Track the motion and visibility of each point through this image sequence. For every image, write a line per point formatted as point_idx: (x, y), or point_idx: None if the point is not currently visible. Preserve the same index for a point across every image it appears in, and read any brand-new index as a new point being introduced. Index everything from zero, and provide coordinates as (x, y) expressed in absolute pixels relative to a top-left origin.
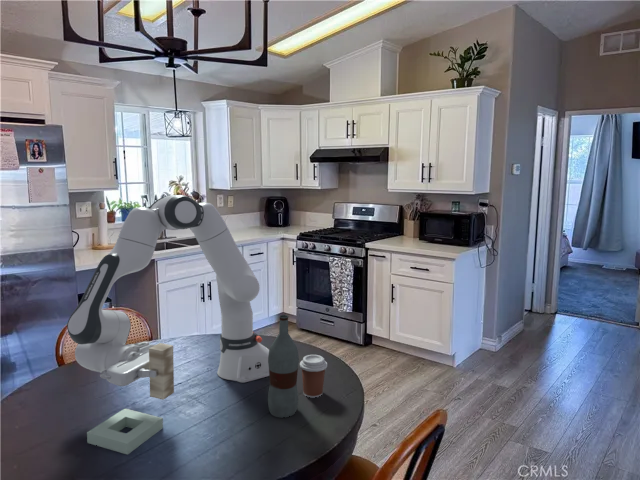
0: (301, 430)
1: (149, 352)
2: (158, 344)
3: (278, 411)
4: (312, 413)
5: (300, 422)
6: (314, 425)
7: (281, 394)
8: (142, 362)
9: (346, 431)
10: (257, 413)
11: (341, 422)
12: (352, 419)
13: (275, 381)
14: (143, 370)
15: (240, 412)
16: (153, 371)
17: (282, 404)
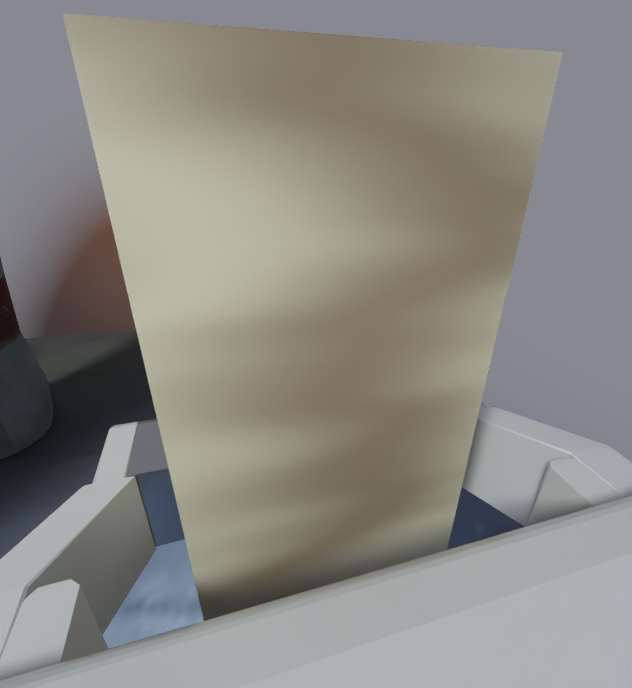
0: (113, 370)
1: (524, 174)
2: (218, 38)
3: (49, 403)
4: None
5: (73, 383)
6: (82, 364)
7: (29, 347)
8: (625, 599)
9: (94, 332)
10: (30, 476)
11: (56, 344)
12: (38, 338)
13: (5, 316)
14: (577, 436)
15: (28, 526)
16: None
17: (44, 374)
